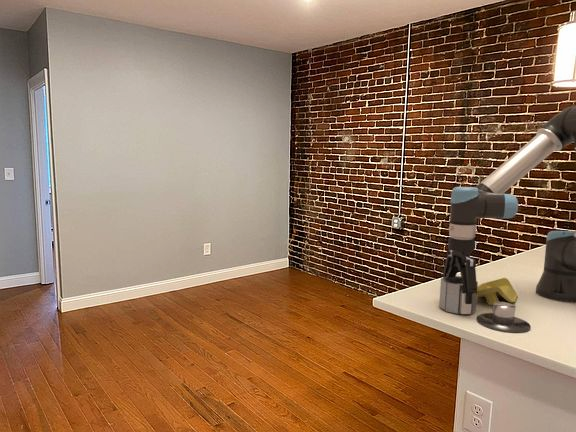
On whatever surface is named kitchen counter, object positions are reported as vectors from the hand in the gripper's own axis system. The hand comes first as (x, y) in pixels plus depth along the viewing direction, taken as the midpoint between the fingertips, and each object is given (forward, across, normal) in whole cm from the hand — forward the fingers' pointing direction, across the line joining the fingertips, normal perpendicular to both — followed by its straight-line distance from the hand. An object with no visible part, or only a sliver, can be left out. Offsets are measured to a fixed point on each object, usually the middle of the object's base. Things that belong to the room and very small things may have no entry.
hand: (457, 307), depth 137 cm
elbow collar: (0, 0, 0) cm, 0 cm away
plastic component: (+1, -9, +17) cm, 19 cm away
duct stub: (+1, +12, +8) cm, 14 cm away
